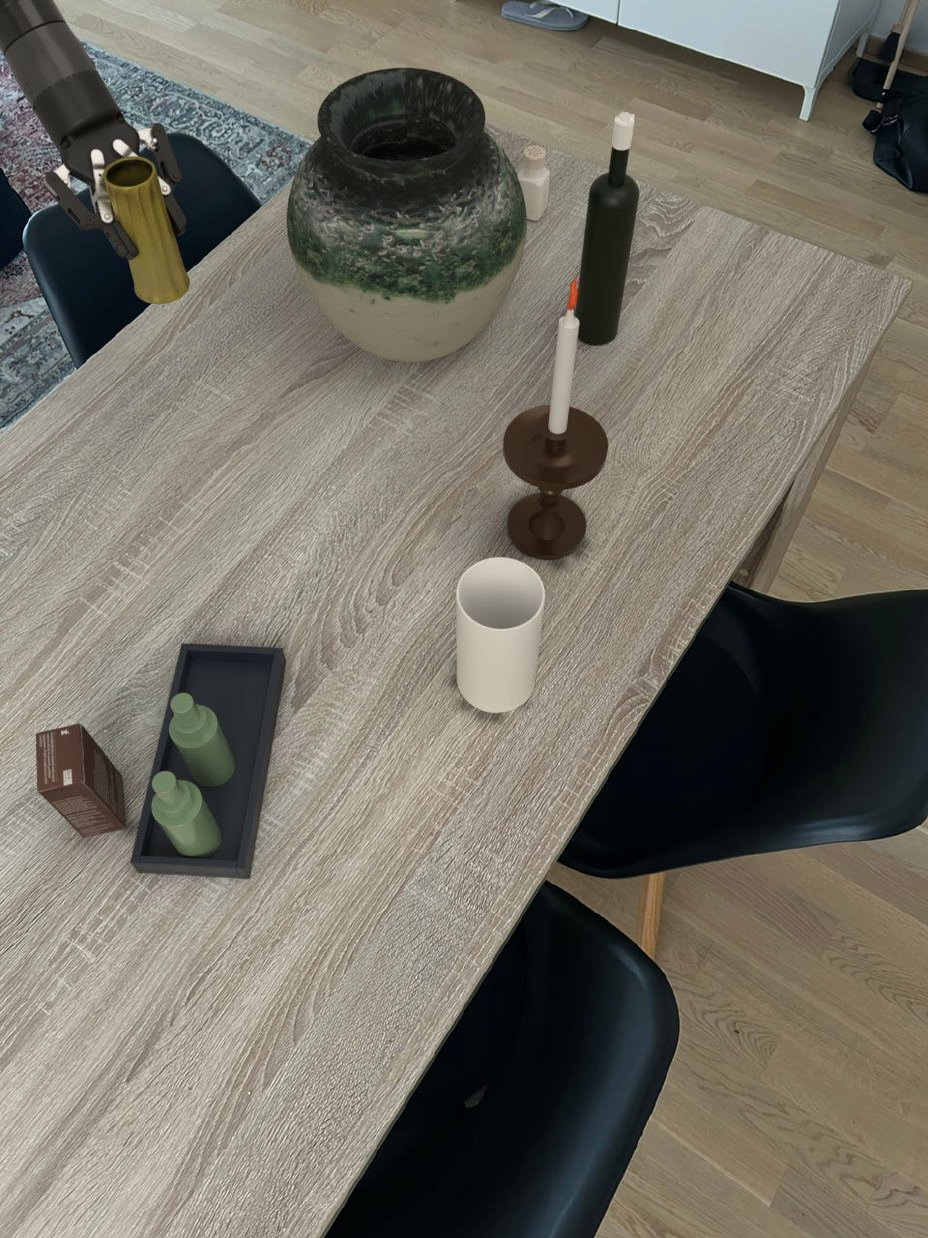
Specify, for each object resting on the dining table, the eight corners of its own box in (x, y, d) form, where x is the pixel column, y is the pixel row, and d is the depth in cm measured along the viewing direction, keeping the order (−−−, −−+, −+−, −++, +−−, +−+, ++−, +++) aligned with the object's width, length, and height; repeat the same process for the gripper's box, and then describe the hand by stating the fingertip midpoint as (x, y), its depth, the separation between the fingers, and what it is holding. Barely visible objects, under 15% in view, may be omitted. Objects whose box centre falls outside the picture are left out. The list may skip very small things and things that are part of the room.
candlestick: (524, 478, 123) (543, 226, 94) (608, 512, 121) (655, 263, 91) (482, 544, 118) (489, 299, 89) (569, 580, 116) (606, 340, 86)
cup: (519, 636, 112) (527, 547, 98) (546, 700, 108) (558, 617, 94) (446, 656, 110) (444, 569, 97) (470, 722, 106) (471, 641, 93)
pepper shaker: (548, 207, 151) (553, 147, 143) (538, 223, 149) (542, 163, 141) (523, 200, 151) (526, 140, 143) (512, 216, 149) (515, 156, 141)
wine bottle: (623, 341, 136) (659, 126, 110) (581, 349, 135) (608, 134, 110) (609, 311, 139) (641, 96, 113) (567, 319, 138) (591, 103, 113)
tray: (137, 873, 98) (129, 863, 95) (187, 656, 110) (181, 642, 108) (249, 879, 97) (244, 869, 95) (286, 661, 110) (282, 647, 108)
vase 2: (519, 258, 145) (531, 41, 119) (521, 409, 129) (535, 197, 104) (315, 255, 145) (284, 39, 119) (293, 405, 130) (252, 194, 104)
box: (76, 784, 102) (33, 730, 92) (123, 775, 103) (85, 720, 93) (79, 842, 99) (35, 792, 89) (126, 831, 100) (88, 781, 90)
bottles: (170, 860, 98) (131, 805, 86) (195, 745, 104) (162, 679, 92) (217, 863, 97) (184, 807, 86) (239, 747, 104) (211, 681, 92)
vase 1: (188, 264, 118) (158, 149, 106) (192, 301, 114) (161, 186, 102) (133, 272, 117) (97, 156, 105) (136, 308, 114) (98, 194, 102)
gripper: (118, 74, 110) (205, 226, 115) (-5, 127, 105) (92, 283, 110) (132, 44, 103) (224, 207, 109) (1, 99, 98) (104, 267, 104)
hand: (157, 244), depth 109 cm, fingers closed on vase 1, 5 cm apart
